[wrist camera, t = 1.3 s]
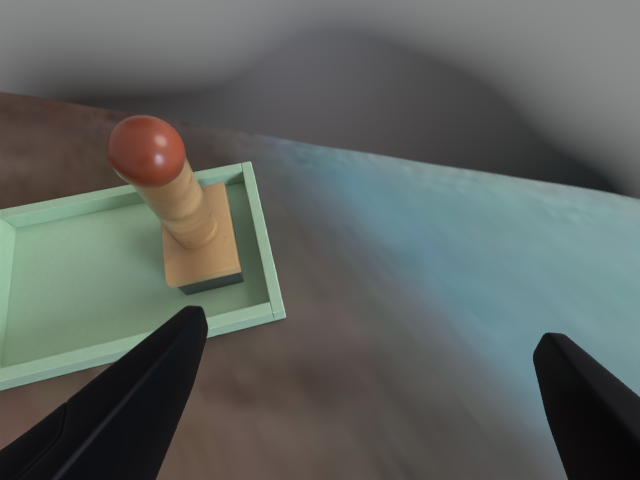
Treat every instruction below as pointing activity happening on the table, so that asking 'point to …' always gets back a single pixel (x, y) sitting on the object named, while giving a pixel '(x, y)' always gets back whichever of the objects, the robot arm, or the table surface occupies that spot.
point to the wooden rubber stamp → (178, 205)
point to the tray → (115, 278)
